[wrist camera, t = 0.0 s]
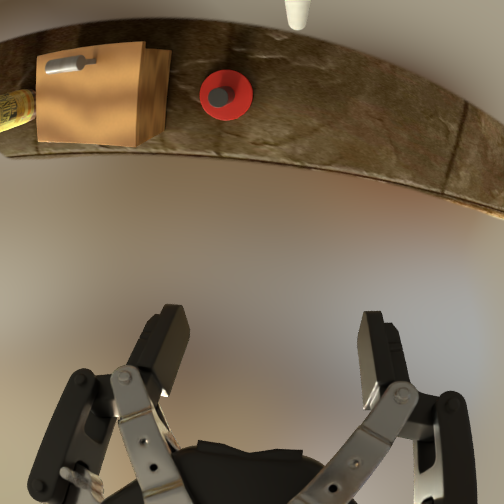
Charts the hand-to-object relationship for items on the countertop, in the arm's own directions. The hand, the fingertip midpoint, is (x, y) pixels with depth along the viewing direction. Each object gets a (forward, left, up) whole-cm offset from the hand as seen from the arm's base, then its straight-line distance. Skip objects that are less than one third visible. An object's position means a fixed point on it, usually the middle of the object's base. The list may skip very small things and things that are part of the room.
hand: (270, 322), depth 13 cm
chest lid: (-11, -24, -22) cm, 34 cm away
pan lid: (-8, -8, -30) cm, 32 cm away
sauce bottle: (-14, -43, -30) cm, 54 cm away
